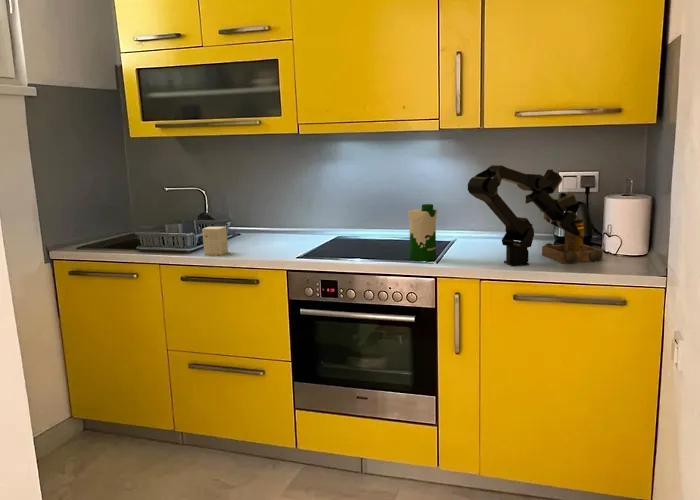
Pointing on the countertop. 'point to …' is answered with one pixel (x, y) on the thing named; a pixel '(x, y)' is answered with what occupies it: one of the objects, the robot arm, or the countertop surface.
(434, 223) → the milk carton
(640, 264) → the countertop surface
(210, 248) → the small box
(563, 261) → the chassis bay
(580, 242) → the condiment
